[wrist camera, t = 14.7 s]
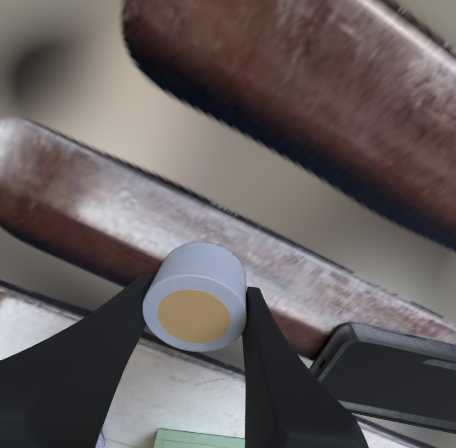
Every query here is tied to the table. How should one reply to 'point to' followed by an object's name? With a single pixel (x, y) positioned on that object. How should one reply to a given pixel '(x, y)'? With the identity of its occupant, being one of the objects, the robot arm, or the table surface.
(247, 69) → the table surface
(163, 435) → the cabinet
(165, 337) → the cylinder
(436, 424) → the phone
